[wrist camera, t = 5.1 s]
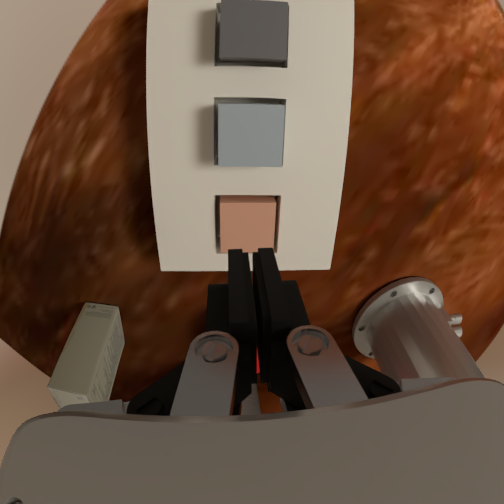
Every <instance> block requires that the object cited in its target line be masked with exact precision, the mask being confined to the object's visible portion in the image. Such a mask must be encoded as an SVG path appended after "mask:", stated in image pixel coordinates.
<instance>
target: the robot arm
mask: <svg viewBox="0 0 504 504" xmlns="http://www.w3.org/2000/svg"><path fill="white" fill-rule="evenodd" d="M252 265H253V287H252V279H251V271H250V263H249V255H248V252H243V251H242V249H228V284H209V285H208V298H207V315H206V332H205V333H202V334H200V335H199V336H197V337H196V338H195V339H194V340H193V341H192V343H191V345H190V347H189V350H188V354H187V357H186V360H185V362H183V363H182V364H180V365H179V366H178V367H176V368H175V369H173V370H172V371H170V372H169V373H168V374H166V375H165V376H163V377H162V378H160V379H159V380H158V381H156V382H155V383H153V384H152V385H150V386H149V387H147V388H146V389H145V390H143V391H142V392H140V393H139V394H137V395H136V396H135V397H134V398H133V399H131V401H129V402H123V401H122V399H120V400H112V401H103V402H93V403H82V404H70V405H66V406H64V407H62V408H61V409H59V411H58V412H53V413H49V414H43V415H39V416H36V417H33V418H31V419H29V420H27V421H25V422H24V423H23V424H22V425H21V426H20V427H19V428H18V429H17V430H16V432H15V433H14V435H13V437H12V439H11V441H10V443H9V445H8V447H7V450H6V452H5V455H4V458H3V461H2V463H1V467H0V504H504V384H503V383H501V382H499V381H496V380H492V379H486V378H485V377H484V375H483V374H482V372H481V371H480V369H479V367H478V366H477V364H476V363H475V361H474V360H473V358H472V357H471V355H470V353H469V352H468V350H467V349H466V347H465V346H464V344H463V343H462V342H461V340H460V339H459V338H460V337H461V335H462V328H461V326H460V325H454V324H459V323H461V322H462V316H461V314H460V313H457V314H451V315H448V314H447V312H446V311H445V310H444V308H443V296H442V293H441V291H440V290H439V288H438V287H437V286H436V285H435V284H434V283H433V282H432V281H431V280H428V279H426V278H422V277H409V278H405V279H401V280H398V281H396V282H393V283H391V284H389V285H387V286H386V287H384V288H382V289H381V290H380V291H378V292H377V293H376V294H374V295H373V296H372V297H371V298H370V299H369V300H368V301H367V302H366V303H365V304H364V306H363V307H362V308H361V309H360V311H359V313H358V315H357V316H356V318H355V321H354V324H353V328H352V337H353V341H354V344H355V346H356V348H357V349H358V351H359V352H360V353H362V354H363V355H364V356H367V357H369V358H375V360H376V362H377V364H378V366H379V369H380V371H381V373H380V372H378V371H376V370H374V369H372V368H370V367H368V366H366V365H364V364H362V363H360V362H358V361H356V360H353V359H351V358H349V357H347V356H345V355H343V354H342V352H341V350H340V349H339V347H338V345H337V343H336V342H335V340H334V338H333V337H332V335H331V334H330V333H329V332H328V331H326V330H325V329H323V328H321V327H318V326H312V325H310V323H309V320H308V317H307V313H306V310H305V307H304V304H303V301H302V298H301V295H300V291H299V288H298V285H297V283H296V281H295V280H289V281H282V280H281V277H280V273H279V269H278V265H277V261H276V258H275V254H274V250H273V248H258V252H253V253H252ZM451 325H453V326H451ZM257 352H258V360H259V369H260V377H261V383H267V387H268V391H271V392H272V393H274V394H276V395H277V396H279V397H280V402H281V406H282V409H283V411H284V412H279V413H268V414H254V415H241V411H242V401H244V400H245V399H246V398H247V397H248V396H249V395H250V394H251V393H252V384H256V383H257Z"/></svg>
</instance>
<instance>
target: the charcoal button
mask: <svg viewBox="0 0 504 504" xmlns="http://www.w3.org/2000/svg"><path fill="white" fill-rule="evenodd" d="M287 31H288V2H280V1H267V0H221V14H220V45H219V58H220V61H221V62H259V63H279V64H280V63H281V62H283V61H285V60H286V59H287Z"/></svg>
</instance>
